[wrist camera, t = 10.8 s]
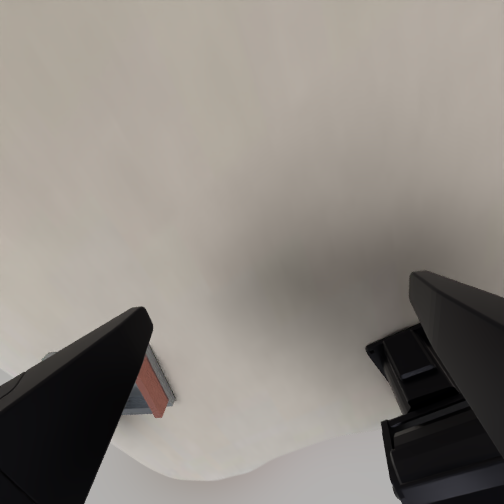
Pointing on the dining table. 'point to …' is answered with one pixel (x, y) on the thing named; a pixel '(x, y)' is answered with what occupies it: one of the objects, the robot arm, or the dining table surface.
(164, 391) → the grey rectangular tray
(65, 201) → the dining table surface
